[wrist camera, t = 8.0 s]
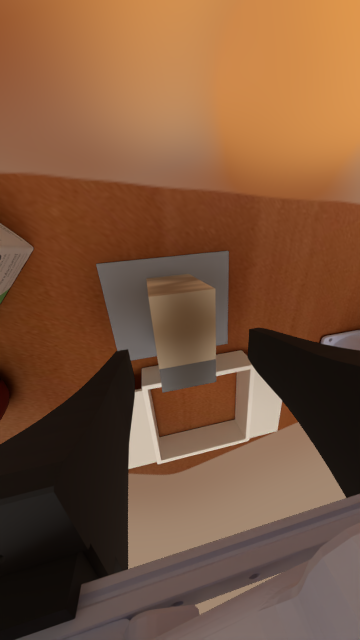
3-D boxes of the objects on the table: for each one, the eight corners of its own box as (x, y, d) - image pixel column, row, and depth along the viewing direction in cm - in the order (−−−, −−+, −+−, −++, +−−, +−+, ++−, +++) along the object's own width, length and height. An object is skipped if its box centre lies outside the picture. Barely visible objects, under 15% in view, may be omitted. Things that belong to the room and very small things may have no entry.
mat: (226, 250, 18) (228, 250, 17) (226, 341, 22) (227, 343, 21) (97, 263, 16) (96, 264, 16) (120, 360, 20) (120, 362, 19)
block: (188, 273, 17) (215, 288, 11) (192, 339, 20) (216, 381, 14) (146, 278, 17) (148, 296, 10) (156, 345, 20) (162, 392, 13)
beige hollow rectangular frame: (271, 344, 23) (289, 357, 20) (263, 415, 27) (276, 433, 25) (104, 375, 20) (98, 395, 17) (126, 447, 25) (124, 472, 22)
